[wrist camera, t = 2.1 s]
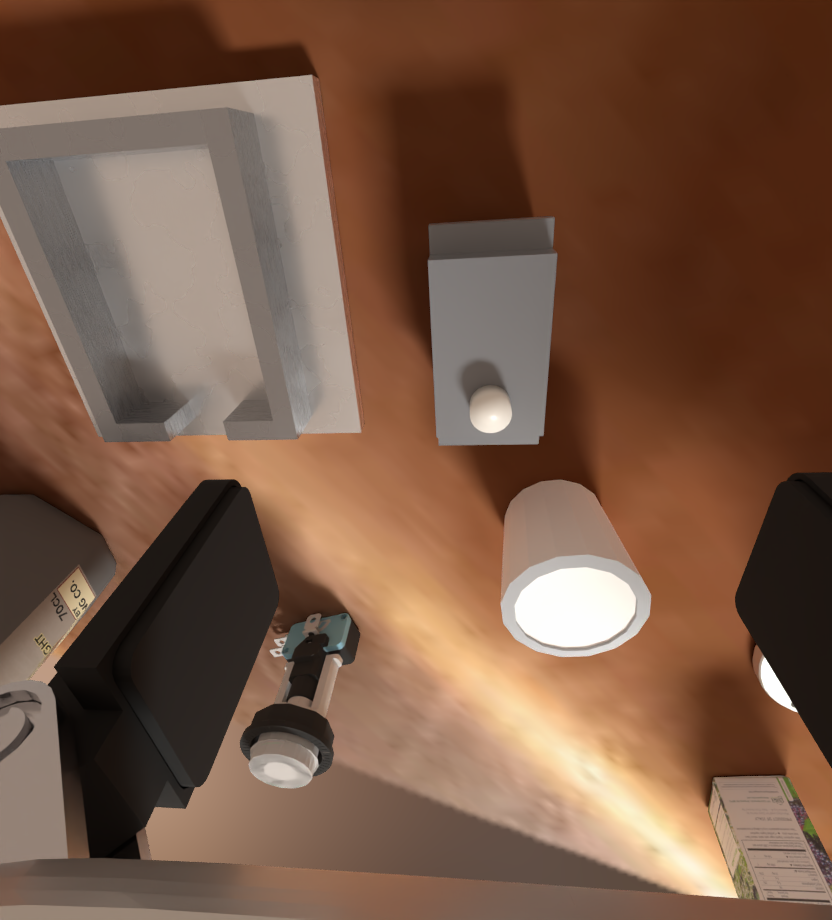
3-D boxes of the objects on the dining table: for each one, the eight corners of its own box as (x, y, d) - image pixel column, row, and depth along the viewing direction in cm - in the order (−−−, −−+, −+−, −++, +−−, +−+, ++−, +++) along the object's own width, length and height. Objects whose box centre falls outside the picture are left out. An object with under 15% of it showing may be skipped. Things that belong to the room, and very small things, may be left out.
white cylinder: (488, 558, 31) (493, 653, 25) (500, 466, 27) (509, 550, 21) (600, 567, 30) (632, 665, 25) (626, 474, 27) (671, 562, 21)
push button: (295, 658, 38) (244, 802, 29) (260, 611, 35) (194, 753, 27) (373, 643, 36) (343, 791, 28) (342, 593, 34) (299, 738, 25)
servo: (539, 207, 21) (565, 223, 15) (528, 402, 25) (545, 469, 20) (435, 214, 21) (423, 232, 16) (443, 404, 26) (436, 470, 20)
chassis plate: (319, 78, 19) (291, 63, 16) (364, 424, 27) (351, 456, 24) (-27, 112, 21) (-109, 103, 18) (109, 428, 28) (67, 459, 25)
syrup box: (777, 808, 43) (904, 1073, 30) (703, 809, 44) (796, 1064, 31) (787, 773, 40) (931, 1048, 27) (708, 774, 41) (812, 1039, 29)
